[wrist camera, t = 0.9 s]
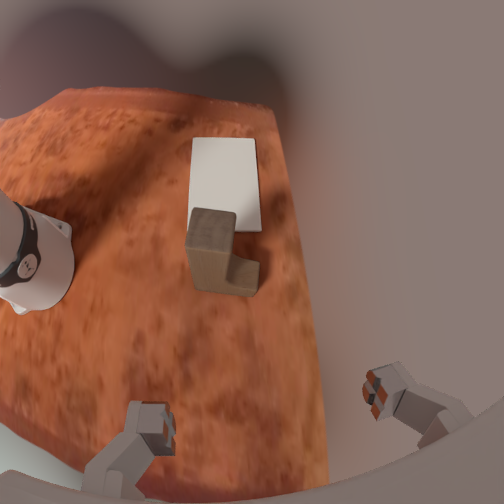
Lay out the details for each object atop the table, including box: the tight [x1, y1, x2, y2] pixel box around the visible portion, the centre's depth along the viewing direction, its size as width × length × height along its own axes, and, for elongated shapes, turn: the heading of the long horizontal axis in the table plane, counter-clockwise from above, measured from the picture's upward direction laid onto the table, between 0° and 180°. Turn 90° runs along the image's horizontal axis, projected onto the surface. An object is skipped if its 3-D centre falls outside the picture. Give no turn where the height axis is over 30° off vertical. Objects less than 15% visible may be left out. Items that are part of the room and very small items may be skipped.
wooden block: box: [185, 207, 260, 297], centre depth 36 cm, size 9×4×18 cm, turn 85°
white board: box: [187, 138, 262, 232], centre depth 50 cm, size 20×12×1 cm, turn 3°
